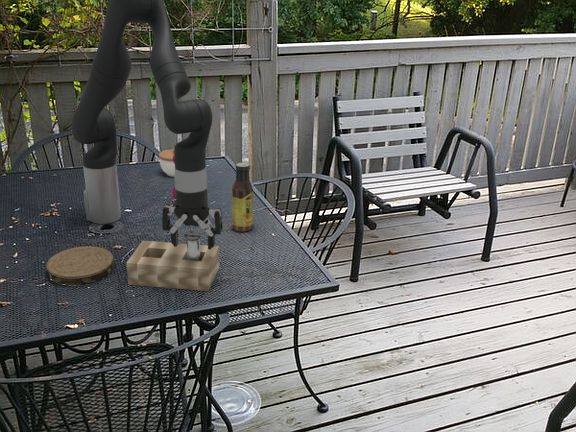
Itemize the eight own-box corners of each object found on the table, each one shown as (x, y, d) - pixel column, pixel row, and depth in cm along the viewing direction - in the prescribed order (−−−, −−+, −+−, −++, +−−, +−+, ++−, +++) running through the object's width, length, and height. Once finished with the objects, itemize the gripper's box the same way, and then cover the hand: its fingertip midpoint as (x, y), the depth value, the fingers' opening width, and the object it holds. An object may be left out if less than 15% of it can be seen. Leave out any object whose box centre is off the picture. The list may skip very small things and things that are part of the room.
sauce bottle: (249, 233, 169) (250, 169, 161) (229, 231, 170) (228, 167, 162) (255, 224, 175) (256, 162, 167) (235, 222, 176) (235, 160, 168)
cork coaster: (91, 250, 157) (90, 240, 156) (127, 270, 148) (126, 260, 147) (35, 271, 146) (34, 261, 145) (70, 294, 137) (69, 284, 136)
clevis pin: (184, 280, 144) (182, 237, 139) (188, 272, 148) (186, 229, 143) (200, 281, 144) (199, 238, 139) (204, 273, 148) (203, 231, 143)
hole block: (128, 284, 141) (126, 263, 139) (144, 260, 152) (142, 240, 150) (209, 291, 140) (208, 269, 137) (219, 266, 151) (218, 246, 148)
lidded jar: (160, 179, 206) (158, 154, 202) (160, 169, 216) (158, 145, 212) (190, 178, 208) (189, 153, 205) (189, 168, 218) (188, 144, 214)
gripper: (156, 189, 133) (160, 251, 139) (217, 193, 132) (218, 256, 138) (165, 177, 139) (169, 237, 146) (224, 181, 138) (225, 242, 145)
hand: (193, 246), depth 142 cm, fingers open, 8 cm apart
